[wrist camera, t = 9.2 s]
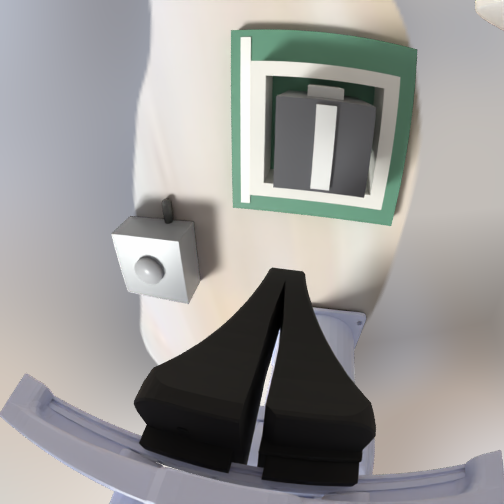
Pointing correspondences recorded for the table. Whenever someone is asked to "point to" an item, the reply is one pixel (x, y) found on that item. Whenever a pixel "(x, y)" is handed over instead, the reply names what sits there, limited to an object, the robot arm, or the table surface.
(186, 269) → the gray button box
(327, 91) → the plug
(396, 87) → the board
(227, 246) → the table surface
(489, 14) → the cable organizer
